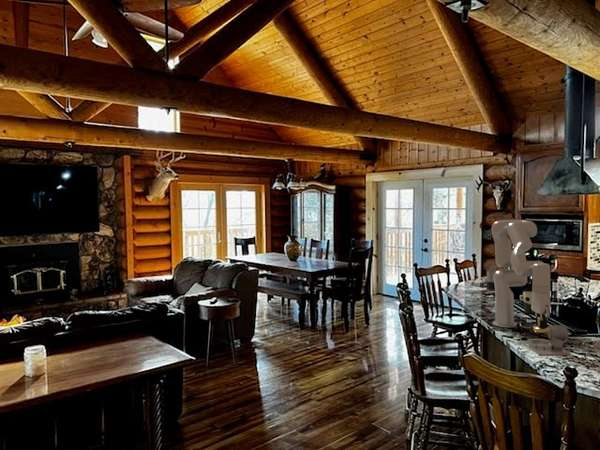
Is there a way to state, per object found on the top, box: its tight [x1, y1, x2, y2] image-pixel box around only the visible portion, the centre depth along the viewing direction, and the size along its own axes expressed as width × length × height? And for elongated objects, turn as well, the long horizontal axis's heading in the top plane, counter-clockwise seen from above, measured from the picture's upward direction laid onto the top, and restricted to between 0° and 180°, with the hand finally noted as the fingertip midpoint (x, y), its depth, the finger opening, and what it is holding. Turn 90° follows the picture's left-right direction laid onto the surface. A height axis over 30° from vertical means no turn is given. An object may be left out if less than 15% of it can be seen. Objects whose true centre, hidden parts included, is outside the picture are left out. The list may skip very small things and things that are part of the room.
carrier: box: [520, 338, 570, 356], centre depth 212 cm, size 17×14×5 cm
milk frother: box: [478, 269, 498, 291], centre depth 360 cm, size 14×16×15 cm
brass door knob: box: [532, 317, 550, 334], centre depth 213 cm, size 7×7×7 cm
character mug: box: [519, 291, 535, 314], centre depth 278 cm, size 11×7×13 cm, turn 73°
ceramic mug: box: [546, 324, 569, 345], centre depth 223 cm, size 11×8×8 cm
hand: (541, 326), depth 213 cm, fingers closed on brass door knob, 3 cm apart
